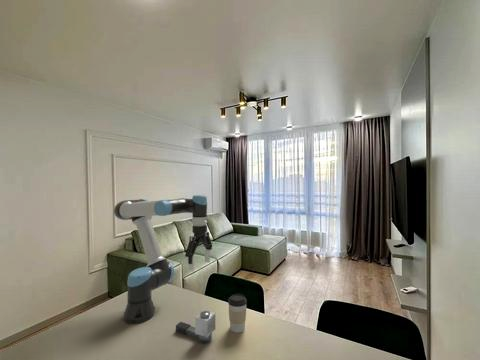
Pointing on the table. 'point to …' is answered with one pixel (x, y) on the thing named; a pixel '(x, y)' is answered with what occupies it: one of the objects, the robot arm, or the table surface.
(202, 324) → the socket
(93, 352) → the table surface
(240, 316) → the coffee cup
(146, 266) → the robot arm
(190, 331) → the grey l-shaped piece
